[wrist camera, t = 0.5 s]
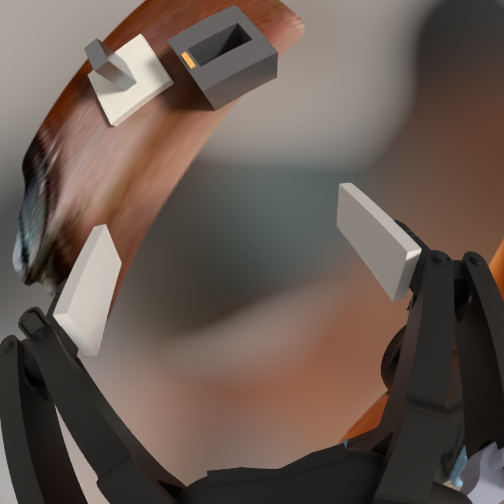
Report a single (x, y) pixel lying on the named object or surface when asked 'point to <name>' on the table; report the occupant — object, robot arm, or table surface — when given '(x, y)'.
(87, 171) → the table surface
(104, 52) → the shaft stand
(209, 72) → the gray slotted block
